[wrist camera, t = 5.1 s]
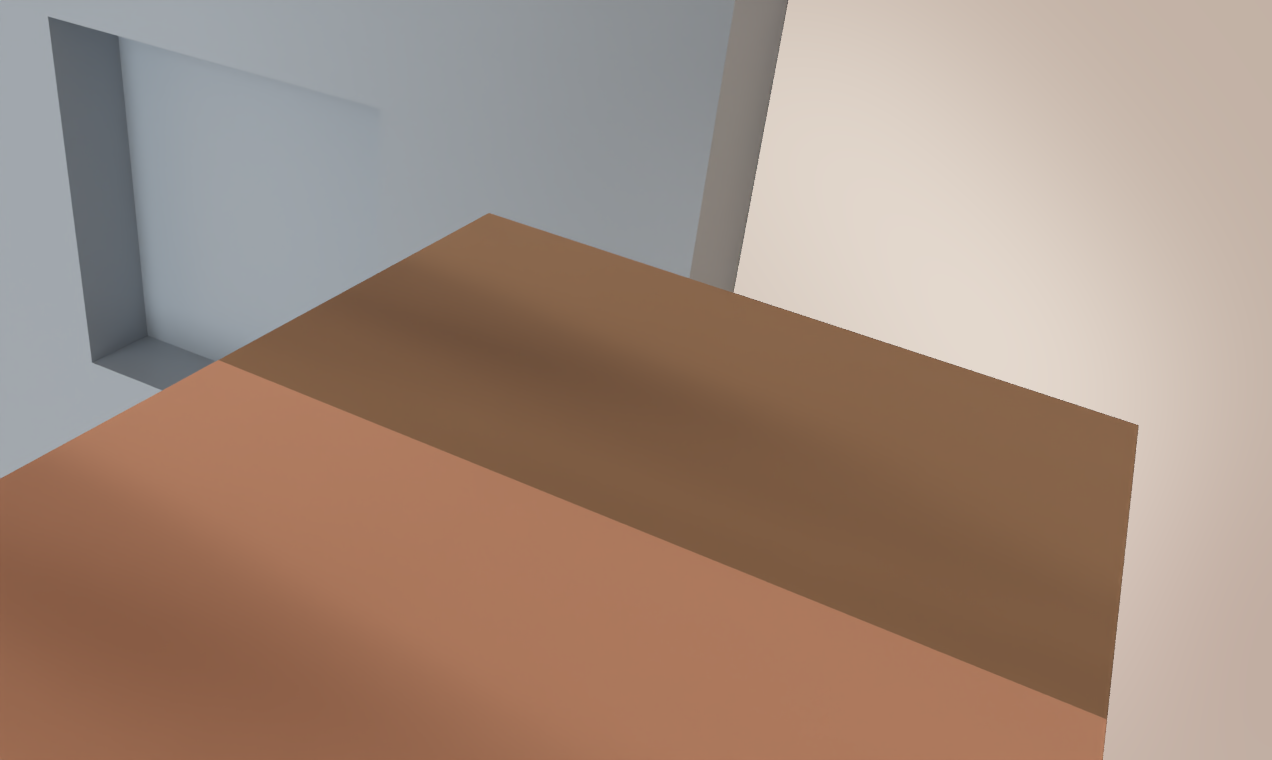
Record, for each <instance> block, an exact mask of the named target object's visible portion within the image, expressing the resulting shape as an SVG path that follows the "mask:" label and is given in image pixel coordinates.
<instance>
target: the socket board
mask: <svg viewBox="0 0 1272 760" xmlns="http://www.w3.org/2000/svg"><path fill="white" fill-rule="evenodd" d="M787 4H788V0H0V478H2V477H4V476H6V475H8V474H10V473H11V472H13V471H15V470H17V469H19V468H21V467H22V466H24V465H26V464H28V463H30V462H32V461H33V460H35V459H37V458H39V457H41V456H43V455H44V454H46V453H48V452H50V451H52V450H54V449H56V448H57V447H59V446H61V445H63V444H65V443H67V442H68V441H70V440H72V439H74V438H76V437H78V436H79V435H81V434H83V433H85V432H87V431H89V430H90V429H92V428H94V427H96V426H98V425H100V424H101V423H103V422H105V421H107V420H109V419H111V418H113V417H114V416H116V415H118V414H120V413H122V412H124V411H125V410H127V409H129V408H131V407H133V406H135V405H136V404H138V403H140V402H142V401H144V400H146V399H147V398H149V397H151V396H153V395H155V394H157V393H159V392H160V391H162V390H164V389H166V388H168V387H170V386H171V385H173V384H175V383H177V382H179V381H181V380H182V379H184V378H186V377H188V376H190V375H192V374H193V373H195V372H197V371H199V370H201V369H203V368H204V367H206V366H208V365H210V364H212V363H214V362H216V361H217V360H219V359H221V358H223V357H225V356H227V355H228V354H230V353H232V352H234V351H236V350H238V349H239V348H241V347H243V346H245V345H247V344H249V343H250V342H252V341H254V340H256V339H258V338H260V337H261V336H263V335H265V334H267V333H269V332H271V331H273V330H274V329H276V328H278V327H280V326H282V325H284V324H285V323H287V322H289V321H291V320H293V319H295V318H296V317H298V316H300V315H302V314H304V313H306V312H307V311H309V310H311V309H313V308H315V307H317V306H318V305H320V304H322V303H324V302H326V301H328V300H330V299H331V298H333V297H335V296H337V295H339V294H341V293H342V292H344V291H346V290H348V289H350V288H352V287H353V286H355V285H357V284H359V283H361V282H363V281H364V280H366V279H368V278H370V277H372V276H374V275H376V274H377V273H379V272H381V271H383V270H385V269H387V268H388V267H390V266H392V265H394V264H396V263H398V262H399V261H401V260H403V259H405V258H407V257H409V256H410V255H412V254H414V253H416V252H418V251H420V250H421V249H423V248H425V247H427V246H429V245H431V244H433V243H434V242H436V241H438V240H440V239H442V238H444V237H445V236H447V235H449V234H451V233H453V232H455V231H456V230H458V229H460V228H462V227H464V226H466V225H467V224H469V223H471V222H473V221H475V220H477V219H478V218H480V217H482V216H484V215H486V214H488V213H491V214H494V215H497V216H500V217H503V218H506V219H509V220H512V221H515V222H518V223H521V224H525V225H528V226H531V227H534V228H537V229H540V230H543V231H546V232H549V233H552V234H555V235H558V236H561V237H564V238H567V239H570V240H573V241H577V242H580V243H583V244H586V245H589V246H592V247H595V248H598V249H601V250H604V251H607V252H610V253H613V254H616V255H619V256H622V257H625V258H628V259H632V260H635V261H638V262H641V263H644V264H647V265H650V266H653V267H656V268H659V269H662V270H665V271H668V272H671V273H674V274H677V275H680V276H684V277H687V278H690V279H693V280H696V281H699V282H702V283H705V284H708V285H711V286H714V287H717V288H720V289H723V290H726V291H729V292H732V293H733V292H734V286H735V281H736V276H737V270H738V265H739V260H740V254H741V249H742V244H743V238H744V233H745V227H746V222H747V217H748V212H749V206H750V201H751V196H752V190H753V185H754V180H755V174H756V169H757V164H758V158H759V153H760V147H761V142H762V137H763V132H764V126H765V121H766V116H767V110H768V105H769V100H770V94H771V89H772V84H773V78H774V73H775V68H776V62H777V57H778V52H779V46H780V41H781V35H782V30H783V24H784V20H785V14H786V8H787Z"/></svg>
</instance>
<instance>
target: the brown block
mask: <svg viewBox="0 0 1272 760" xmlns="http://www.w3.org/2000/svg"><path fill="white" fill-rule="evenodd" d="M1137 435H1138V425H1136V424H1133V423H1130V422H1126V421H1124V420H1121V419H1118V418H1115V417H1111V416H1108V415H1105V414H1102V413H1099V412H1096V411H1093V410H1090V409H1087V408H1084V407H1081V406H1078V405H1075V404H1072V403H1069V402H1065V401H1063V400H1060V399H1056V398H1053V397H1050V396H1047V395H1044V394H1041V393H1038V392H1035V391H1032V390H1029V389H1026V388H1023V387H1019V386H1017V385H1014V384H1010V383H1008V382H1004V381H1001V380H998V379H995V378H992V377H989V376H986V375H983V374H980V373H977V372H974V371H971V370H968V369H965V368H962V367H959V366H956V365H953V364H949V363H946V362H943V361H940V360H937V359H934V358H931V357H928V356H925V355H922V354H919V353H915V352H913V351H910V350H907V349H903V348H901V347H898V346H894V345H891V344H888V343H885V342H882V341H879V340H876V339H873V338H870V337H867V336H864V335H861V334H858V333H855V332H852V331H849V330H846V329H842V328H839V327H836V326H833V325H830V324H827V323H824V322H821V321H818V320H815V319H812V318H809V317H806V316H802V315H800V314H797V313H794V312H791V311H787V310H784V309H781V308H778V307H775V306H772V305H769V304H766V303H763V302H760V301H757V300H754V299H750V298H748V297H745V296H742V295H739V294H735V293H732V292H729V291H726V290H723V289H720V288H717V287H714V286H711V285H708V284H705V283H702V282H699V281H696V280H693V279H690V278H687V277H684V276H680V275H677V274H674V273H671V272H668V271H665V270H662V269H659V268H656V267H653V266H650V265H647V264H644V263H641V262H638V261H635V260H632V259H628V258H625V257H622V256H619V255H616V254H613V253H610V252H607V251H604V250H601V249H598V248H595V247H592V246H589V245H586V244H583V243H580V242H577V241H573V240H570V239H567V238H564V237H561V236H558V235H555V234H552V233H549V232H546V231H543V230H540V229H537V228H534V227H531V226H528V225H525V224H521V223H518V222H515V221H512V220H509V219H506V218H503V217H500V216H497V215H494V214H491V213H488V214H486V215H484V216H482V217H480V218H478V219H477V220H475V221H473V222H471V223H469V224H467V225H466V226H464V227H462V228H460V229H458V230H456V231H455V232H453V233H451V234H449V235H447V236H445V237H444V238H442V239H440V240H438V241H436V242H434V243H433V244H431V245H429V246H427V247H425V248H423V249H421V250H420V251H418V252H416V253H414V254H412V255H410V256H409V257H407V258H405V259H403V260H401V261H399V262H398V263H396V264H394V265H392V266H390V267H388V268H387V269H385V270H383V271H381V272H379V273H377V274H376V275H374V276H372V277H370V278H368V279H366V280H364V281H363V282H361V283H359V284H357V285H355V286H353V287H352V288H350V289H348V290H346V291H344V292H342V293H341V294H339V295H337V296H335V297H333V298H331V299H330V300H328V301H326V302H324V303H322V304H320V305H318V306H317V307H315V308H313V309H311V310H309V311H307V312H306V313H304V314H302V315H300V316H298V317H296V318H295V319H293V320H291V321H289V322H287V323H285V324H284V325H282V326H280V327H278V328H276V329H274V330H273V331H271V332H269V333H267V334H265V335H263V336H261V337H260V338H258V339H256V340H254V341H252V342H250V343H249V344H247V345H245V346H243V347H241V348H239V349H238V350H236V351H234V352H232V353H230V354H228V355H227V356H225V357H223V358H221V359H219V360H217V361H216V362H214V363H212V364H210V365H208V366H206V367H204V368H203V369H201V370H199V371H197V372H195V373H193V374H192V375H190V376H188V377H186V378H184V379H182V380H181V381H179V382H177V383H175V384H173V385H171V386H170V387H168V388H166V389H164V390H162V391H160V392H159V393H157V394H155V395H153V396H151V397H149V398H147V399H146V400H144V401H142V402H140V403H138V404H136V405H135V406H133V407H131V408H129V409H127V410H125V411H124V412H122V413H120V414H118V415H116V416H114V417H113V418H111V419H109V420H107V421H105V422H103V423H101V424H100V425H98V426H96V427H94V428H92V429H90V430H89V431H87V432H85V433H83V434H81V435H79V436H78V437H76V438H74V439H72V440H70V441H68V442H67V443H65V444H63V445H61V446H59V447H57V448H56V449H54V450H52V451H50V452H48V453H46V454H44V455H43V456H41V457H39V458H37V459H35V460H33V461H32V462H30V463H28V464H26V465H24V466H22V467H21V468H19V469H17V470H15V471H13V472H11V473H10V474H8V475H6V476H4V477H2V478H0V760H1103V752H1104V743H1105V733H1106V724H1107V715H1108V705H1109V696H1110V687H1111V677H1112V668H1113V659H1114V649H1115V640H1116V631H1117V621H1118V612H1119V603H1120V593H1121V583H1122V575H1123V566H1124V556H1125V547H1126V537H1127V528H1128V519H1129V509H1130V499H1131V491H1132V482H1133V472H1134V463H1135V454H1136V444H1137Z"/></svg>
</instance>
